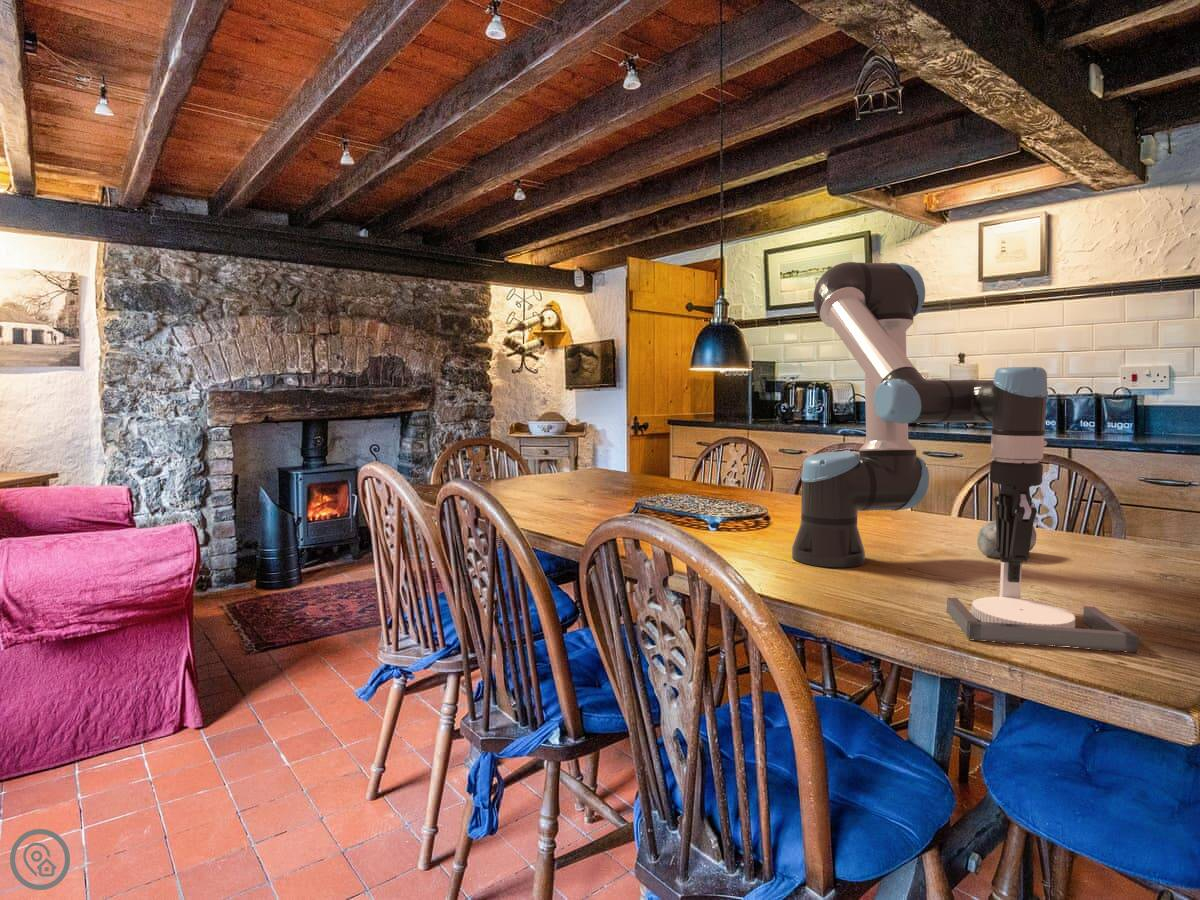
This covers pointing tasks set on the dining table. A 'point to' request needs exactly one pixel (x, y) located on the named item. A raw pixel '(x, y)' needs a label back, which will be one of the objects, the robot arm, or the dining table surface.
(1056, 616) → the plastic lid
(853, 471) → the robot arm
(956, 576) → the dining table surface
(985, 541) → the grey yarn skein
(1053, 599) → the dining table surface
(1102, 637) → the bracket
